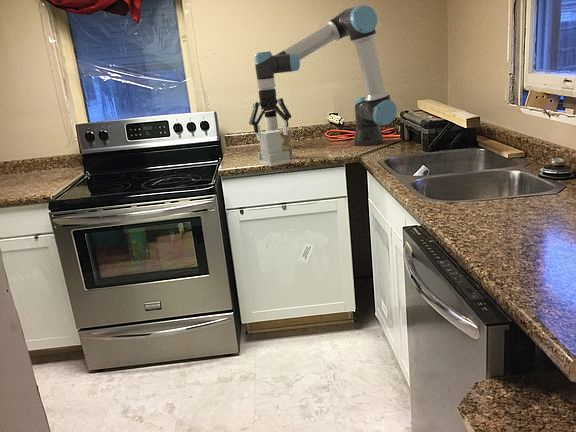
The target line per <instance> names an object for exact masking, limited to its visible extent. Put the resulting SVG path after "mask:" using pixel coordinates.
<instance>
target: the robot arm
mask: <svg viewBox="0 0 576 432" xmlns="http://www.w3.org/2000/svg"><path fill="white" fill-rule="evenodd" d="M377 25H378V15H377V13H376V11H375V9H374V8H372V7H371V6H369V5H366V4H363V5H362V4H361V5H360V4H359V5H356V6H353V7H349V8H347V9H345V10H343V11H342V12H340V13H339V14H338V15H335V17H333V18H332V19H330V20H328V21H327V23H326V25H324V26H322V27H320V28H319V29H317V30H316V31H314V32H312V33H311V34H309V35H307V36H305V38H304V37H303V38H302V39H300V40H299V41H297V42H295V43H294V44H291V45H290V46H288V47H287V48H285V49H284V50H282V51H280V52H278V53H276V54H275V55H274V54H273V55H272V52H271V51H270V50H269V51H262V52H261V51H260V52H256V53H255V54H254V67H255V74H256V81H257V89H258V98H259V102H258V101H254V102H253V106H252V107H253V108H252V110H251V111H252V112H251V115H250V118H249V122H248V125H251V126H253V132H254V134H256V140H257V141H260V140H261V125H259V123H260V121H261V120H262V118H263V116H264V115H265V112H268V111H272V110H275V111H276V114H278V116H279V117H280V118H281V119H282V120H281V124H282V129H283V135H288V131H287V129H288V127H289V120H290V119H291V118H292V115H291V113H290V112H289V109H288V107H287V106H286V104H285V103H284V98H281V97H279V98H277V92H276V81H275V74H281V73H291V72H292V73H293V72H297V71H299V70H300V67H301V60H302V59H305V58H306V57H307V56H310V55H311V54H313V53H315V52H316V51H318V50H319V49H321V48H323V47H324V46H326V45H328V44H330V43H332V42H333V41H339V40H341V39H343V38H346V37H349V39H350V42H351V43H353V44H354V46H355V50H356V53H357V58H358V62H359V66H360V71H361V75H362V76H361V77H362V79H363V83H364V84H363V85H364V87H365V93H366V96H362V97H358V98H356V99H355V100H354V113H355V114H354V115H355V117H354V118H355V132H354V135H353V139H352V140H353V141H352V144H353V145H354V146H376V145H380V144H383V143H384V136H383V132H382V130H381V128H380V126H387V125H390V124H392V122H393V121H394V120H395V118H396V117H397V114H398V113H397V112H398V108H397V105H396V104H395V102H394V101H392V100H391V96H390V93H389V92H388V91H386V89H385V84H384V80H383V75H382V72H381V67H380V60H379V57H378V52H377V47H376V43H375V40H374V39H375V37H376V35H377V31H376V27H377ZM278 105H279V106H278ZM259 107H260V108H259ZM280 108H281V109H280ZM258 111H259V112H258Z"/></svg>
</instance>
